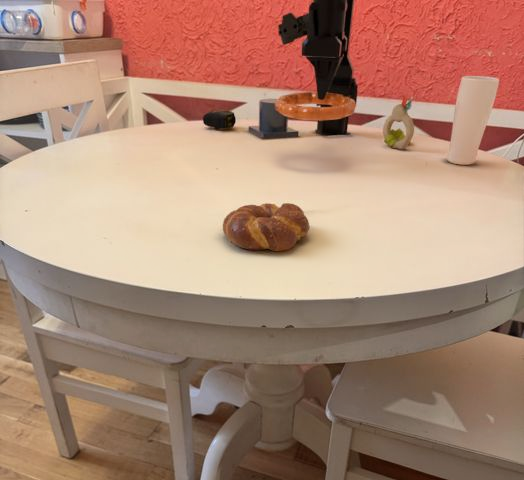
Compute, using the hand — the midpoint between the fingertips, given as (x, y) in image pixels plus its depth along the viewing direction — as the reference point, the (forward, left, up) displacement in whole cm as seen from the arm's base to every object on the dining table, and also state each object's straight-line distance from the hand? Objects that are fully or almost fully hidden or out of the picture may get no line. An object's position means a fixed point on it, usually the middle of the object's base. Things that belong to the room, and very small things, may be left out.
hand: (321, 98), depth 93 cm
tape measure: (+8, -34, -11) cm, 37 cm away
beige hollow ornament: (-24, -4, -11) cm, 27 cm away
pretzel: (+26, +34, -11) cm, 44 cm away
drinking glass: (-27, +11, -11) cm, 31 cm away
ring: (+4, +5, 0) cm, 6 cm away
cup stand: (-2, -25, -11) cm, 28 cm away
